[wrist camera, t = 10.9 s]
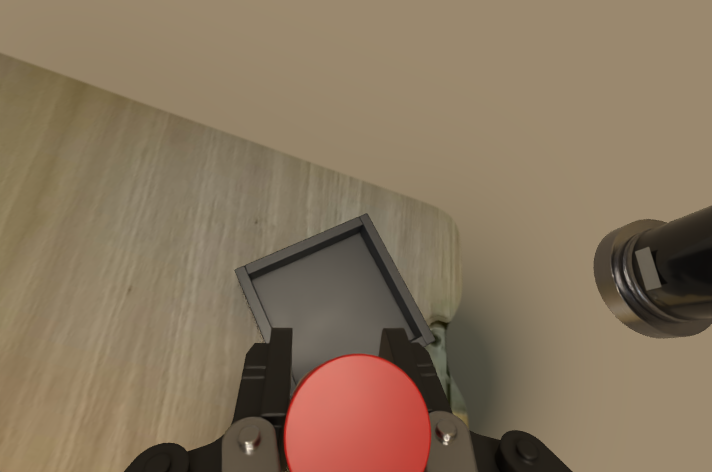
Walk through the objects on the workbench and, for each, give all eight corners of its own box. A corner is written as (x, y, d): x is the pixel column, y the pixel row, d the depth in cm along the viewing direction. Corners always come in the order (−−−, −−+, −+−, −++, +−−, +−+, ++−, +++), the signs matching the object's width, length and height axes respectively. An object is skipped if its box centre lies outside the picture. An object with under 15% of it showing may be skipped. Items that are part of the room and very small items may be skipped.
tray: (362, 223, 35) (367, 212, 32) (425, 342, 32) (436, 340, 30) (239, 277, 32) (234, 269, 29) (297, 413, 29) (297, 417, 27)
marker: (342, 351, 18) (388, 328, 9) (372, 416, 18) (458, 466, 8) (279, 384, 18) (259, 396, 8) (308, 454, 17) (323, 557, 7)
